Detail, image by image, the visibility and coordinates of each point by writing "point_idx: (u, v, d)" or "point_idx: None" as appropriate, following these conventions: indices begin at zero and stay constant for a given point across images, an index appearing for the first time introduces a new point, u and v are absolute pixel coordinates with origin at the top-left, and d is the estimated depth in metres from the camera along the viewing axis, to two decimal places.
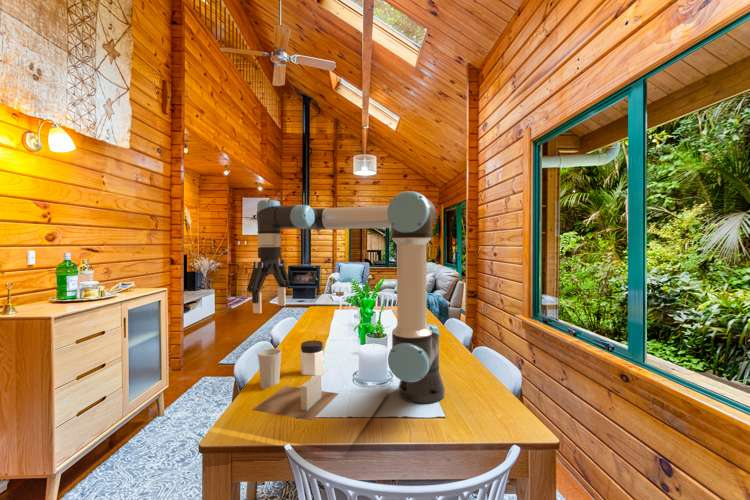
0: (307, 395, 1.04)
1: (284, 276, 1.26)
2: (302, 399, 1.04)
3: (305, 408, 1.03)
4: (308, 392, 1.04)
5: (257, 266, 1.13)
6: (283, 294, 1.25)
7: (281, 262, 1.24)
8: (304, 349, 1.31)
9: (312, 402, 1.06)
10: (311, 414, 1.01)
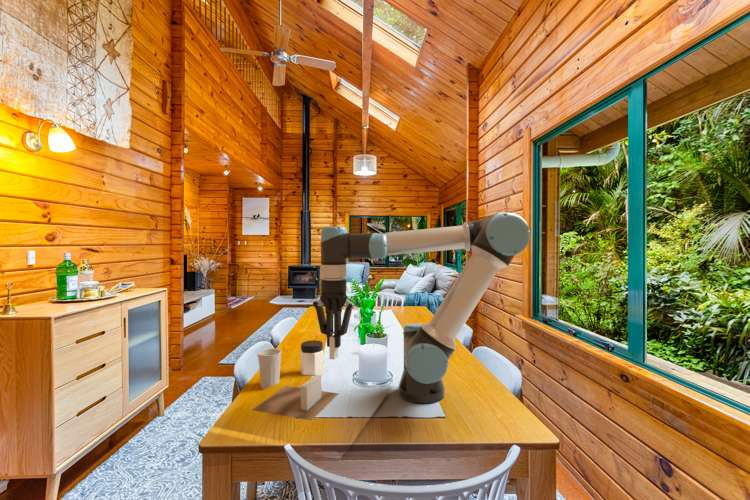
0: (307, 395, 1.04)
1: None
2: (302, 399, 1.04)
3: (305, 408, 1.03)
4: (308, 392, 1.04)
5: None
6: None
7: (348, 305, 1.02)
8: (304, 349, 1.31)
9: (312, 402, 1.06)
10: (311, 414, 1.01)
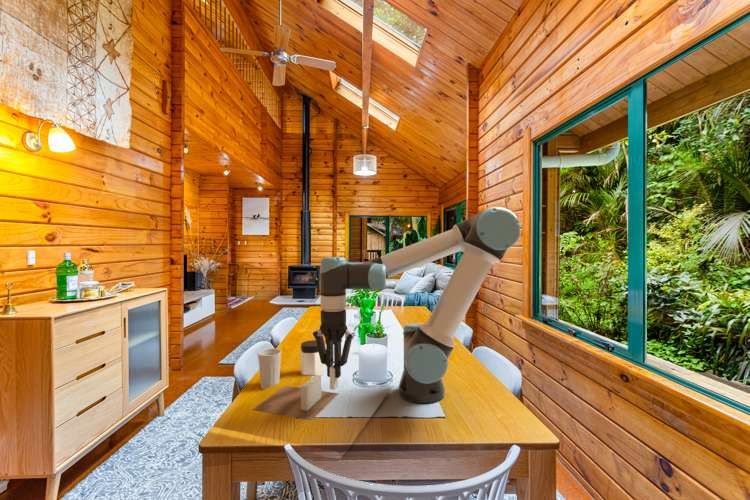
0: (307, 395, 1.04)
1: None
2: (302, 399, 1.04)
3: (305, 408, 1.03)
4: (308, 392, 1.04)
5: None
6: None
7: (348, 336, 1.02)
8: (304, 349, 1.31)
9: (312, 402, 1.06)
10: (311, 414, 1.01)
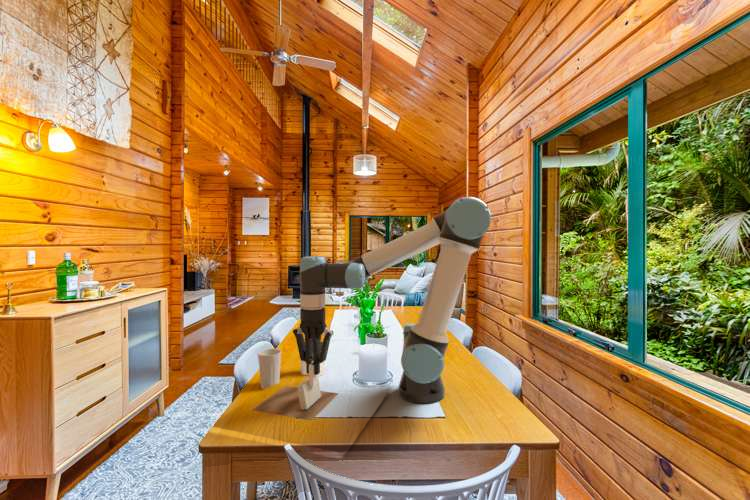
0: (305, 394, 1.04)
1: None
2: (300, 399, 1.04)
3: (305, 407, 1.04)
4: (305, 391, 1.05)
5: None
6: None
7: (326, 333, 1.05)
8: None
9: (311, 401, 1.06)
10: (311, 414, 1.01)
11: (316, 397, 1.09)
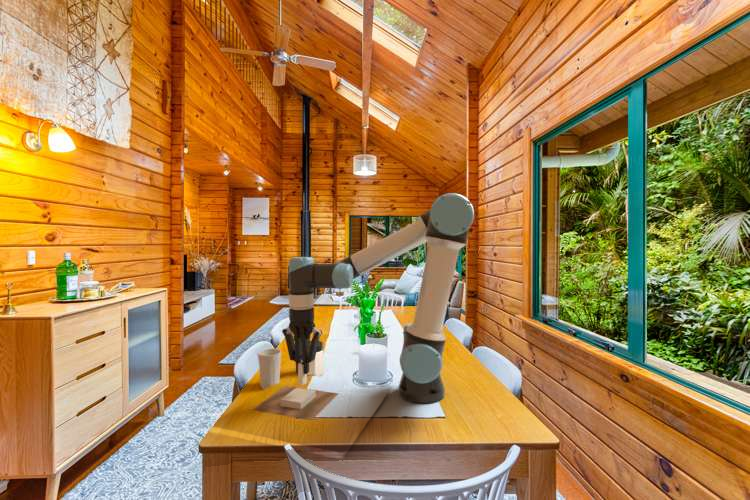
0: (289, 400, 1.06)
1: None
2: (291, 406, 1.05)
3: (299, 404, 1.04)
4: (288, 398, 1.07)
5: None
6: None
7: (315, 333, 1.06)
8: None
9: (303, 397, 1.07)
10: (311, 414, 1.01)
11: (308, 393, 1.10)
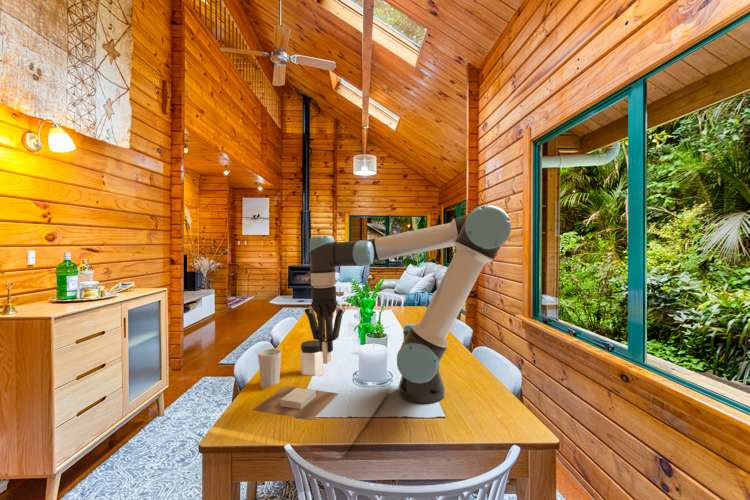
0: (289, 400, 1.06)
1: None
2: (291, 406, 1.05)
3: (299, 404, 1.04)
4: (288, 398, 1.07)
5: None
6: None
7: (338, 311, 1.07)
8: (304, 349, 1.31)
9: (303, 397, 1.07)
10: (311, 414, 1.01)
11: (308, 393, 1.10)
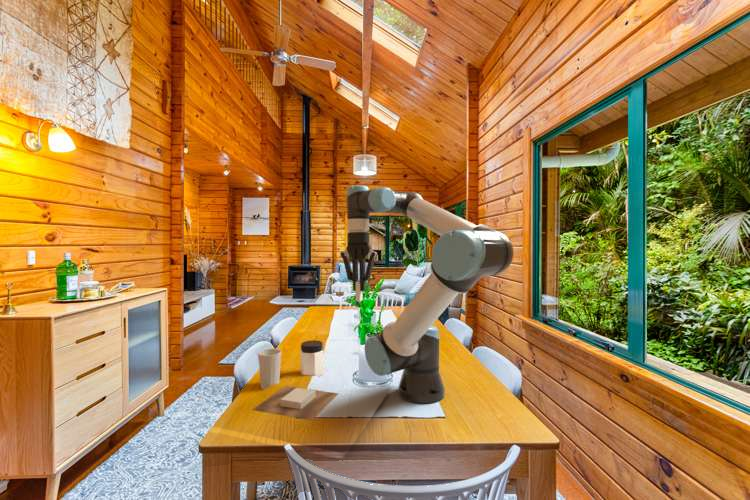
0: (289, 400, 1.06)
1: None
2: (291, 406, 1.05)
3: (299, 404, 1.04)
4: (288, 398, 1.07)
5: None
6: None
7: (372, 253, 1.18)
8: (304, 349, 1.31)
9: (303, 397, 1.07)
10: (311, 414, 1.01)
11: (308, 393, 1.10)
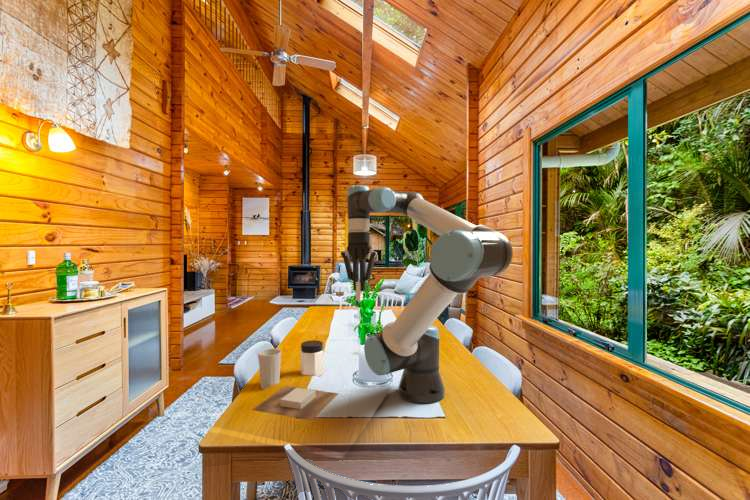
0: (289, 400, 1.06)
1: None
2: (291, 406, 1.05)
3: (299, 404, 1.04)
4: (288, 398, 1.07)
5: None
6: None
7: (372, 253, 1.19)
8: (304, 349, 1.31)
9: (303, 397, 1.07)
10: (311, 414, 1.01)
11: (308, 393, 1.10)
